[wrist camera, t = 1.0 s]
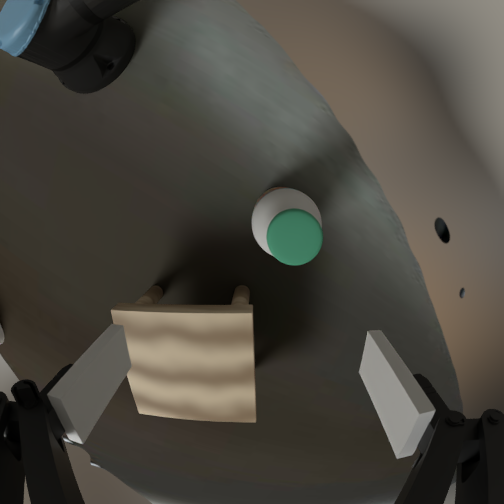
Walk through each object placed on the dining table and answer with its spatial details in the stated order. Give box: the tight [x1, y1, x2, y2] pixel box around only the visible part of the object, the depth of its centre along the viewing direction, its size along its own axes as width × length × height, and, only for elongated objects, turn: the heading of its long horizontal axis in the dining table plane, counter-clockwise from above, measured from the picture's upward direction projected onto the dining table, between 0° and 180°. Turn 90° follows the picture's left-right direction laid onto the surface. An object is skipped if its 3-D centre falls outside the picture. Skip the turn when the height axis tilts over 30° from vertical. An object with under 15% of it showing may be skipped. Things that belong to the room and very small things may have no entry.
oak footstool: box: [111, 285, 256, 422], centre depth 42 cm, size 18×18×12 cm
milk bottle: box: [252, 187, 323, 265], centre depth 33 cm, size 8×8×20 cm
